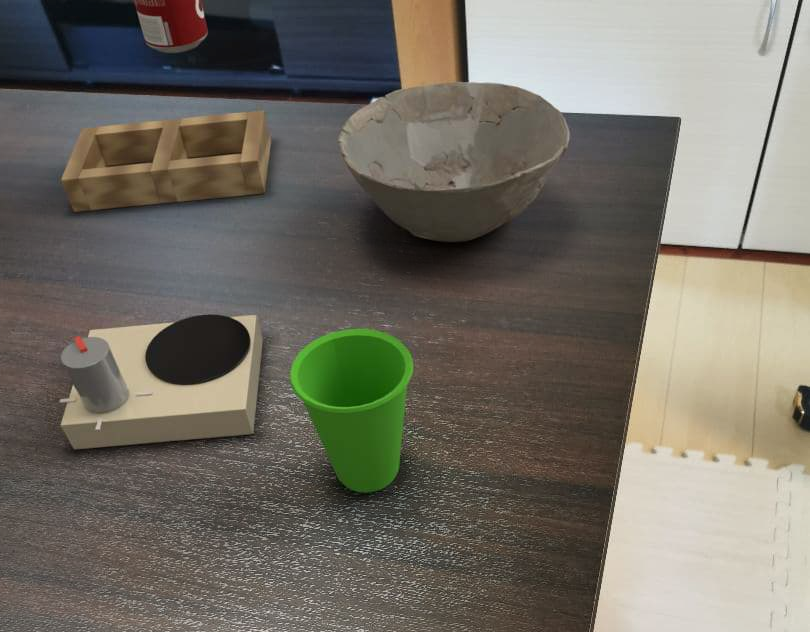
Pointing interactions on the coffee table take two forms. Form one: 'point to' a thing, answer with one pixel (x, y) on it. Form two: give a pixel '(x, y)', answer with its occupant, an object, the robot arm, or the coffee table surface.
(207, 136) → the box
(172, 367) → the burner
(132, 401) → the hob
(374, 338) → the cup
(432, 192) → the ceramic bowl
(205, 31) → the soda can
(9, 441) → the coffee table surface
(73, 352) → the knob
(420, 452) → the coffee table surface
